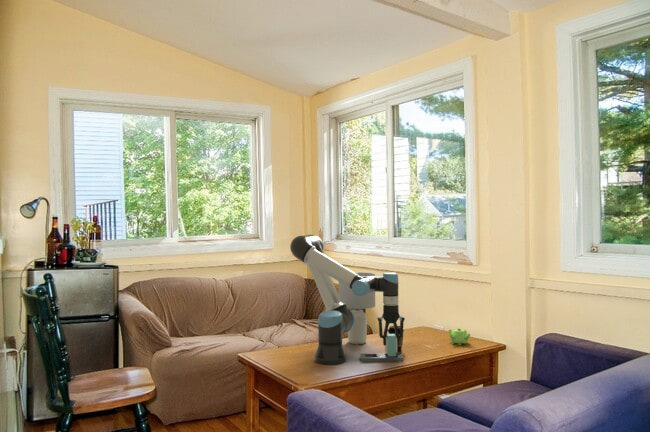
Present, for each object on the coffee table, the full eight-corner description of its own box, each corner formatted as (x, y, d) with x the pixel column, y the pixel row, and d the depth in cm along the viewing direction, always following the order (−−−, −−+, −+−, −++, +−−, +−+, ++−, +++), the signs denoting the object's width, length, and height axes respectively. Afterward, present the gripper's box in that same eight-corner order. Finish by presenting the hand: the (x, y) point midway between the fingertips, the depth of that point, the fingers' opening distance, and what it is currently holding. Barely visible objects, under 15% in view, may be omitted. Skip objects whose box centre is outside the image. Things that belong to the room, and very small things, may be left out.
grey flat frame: (362, 362, 250) (361, 358, 250) (360, 357, 259) (359, 353, 259) (403, 361, 251) (403, 357, 251) (399, 356, 260) (399, 352, 260)
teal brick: (388, 356, 253) (387, 335, 253) (386, 354, 257) (386, 334, 257) (396, 356, 253) (395, 335, 253) (394, 354, 257) (394, 333, 257)
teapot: (469, 341, 290) (469, 326, 290) (470, 346, 279) (470, 331, 279) (448, 340, 292) (448, 325, 292) (449, 345, 281) (449, 330, 281)
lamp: (331, 342, 290) (331, 273, 290) (356, 336, 304) (356, 270, 304) (357, 349, 275) (357, 275, 275) (383, 342, 289) (382, 272, 289)
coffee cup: (407, 351, 269) (407, 326, 269) (398, 354, 263) (398, 329, 263) (393, 348, 275) (393, 324, 275) (384, 351, 269) (384, 326, 269)
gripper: (374, 305, 251) (375, 354, 251) (409, 305, 252) (410, 353, 252) (372, 303, 258) (373, 350, 258) (406, 302, 259) (406, 349, 259)
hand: (391, 351), depth 255 cm, fingers closed on teal brick, 4 cm apart
